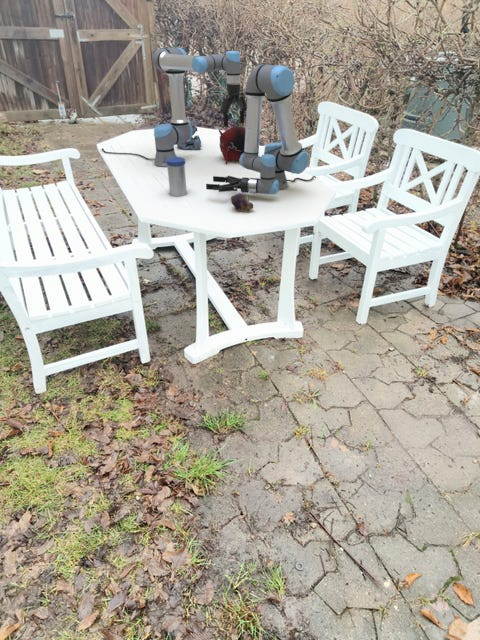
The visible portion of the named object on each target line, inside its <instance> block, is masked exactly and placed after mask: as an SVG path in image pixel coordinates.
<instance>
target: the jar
mask: <svg viewBox="0 0 480 640" xmlns="http://www.w3.org/2000/svg"><path fill="white" fill-rule="evenodd" d="M166 168H167V176H168V187H169V195H170V196H172V197H183V196H187V193H188V191H187V178H186V163H185V164H184V165H182V166H168V165H167V167H166Z"/></svg>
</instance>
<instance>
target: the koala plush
mask: <svg viewBox="0 0 480 640" xmlns="http://www.w3.org/2000/svg"><path fill="white" fill-rule="evenodd" d="M186 119H187V120H188V123H189V124H190V125H191V127H192V129H193V135H192V138H191V139H190V140H189V141H188V142H185V143H180V144H176V146H177V148H179V149H182V150H195V151H197V150H200V149H201V148H202V141H201V137H200V136H199V135H195V134H196V133H197V132H198V127H197V126H196V125H195V123H194V122H193V121H192V120H191V119H190V118H188V117H186Z"/></svg>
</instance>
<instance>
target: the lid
mask: <svg viewBox="0 0 480 640" xmlns="http://www.w3.org/2000/svg"><path fill="white" fill-rule="evenodd" d="M166 164H167V165H168V166H182V165H184V164H185V165H186V158H184V157H179V156H176V157H173V158H168V159H166Z"/></svg>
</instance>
